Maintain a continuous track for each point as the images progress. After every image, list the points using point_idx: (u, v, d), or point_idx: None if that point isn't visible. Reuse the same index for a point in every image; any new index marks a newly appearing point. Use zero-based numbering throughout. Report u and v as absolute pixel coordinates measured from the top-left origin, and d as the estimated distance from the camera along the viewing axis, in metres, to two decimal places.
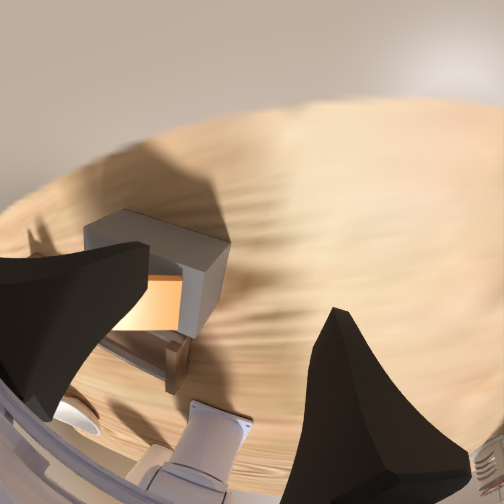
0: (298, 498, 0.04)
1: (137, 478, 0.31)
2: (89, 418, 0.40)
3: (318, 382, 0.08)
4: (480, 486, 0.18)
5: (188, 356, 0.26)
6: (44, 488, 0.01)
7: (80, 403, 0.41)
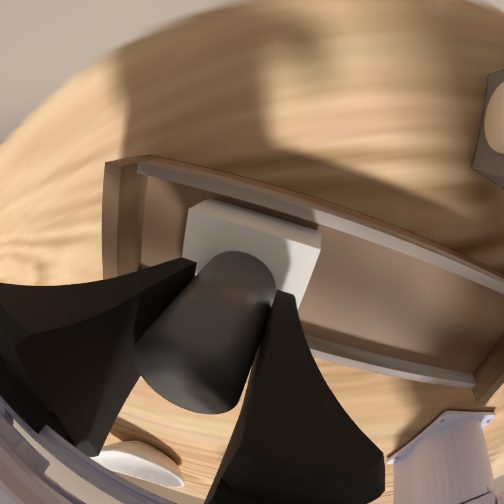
0: (216, 478, 0.05)
1: None
2: (174, 473, 0.25)
3: (255, 363, 0.08)
4: None
5: None
6: (44, 488, 0.01)
7: (154, 451, 0.27)
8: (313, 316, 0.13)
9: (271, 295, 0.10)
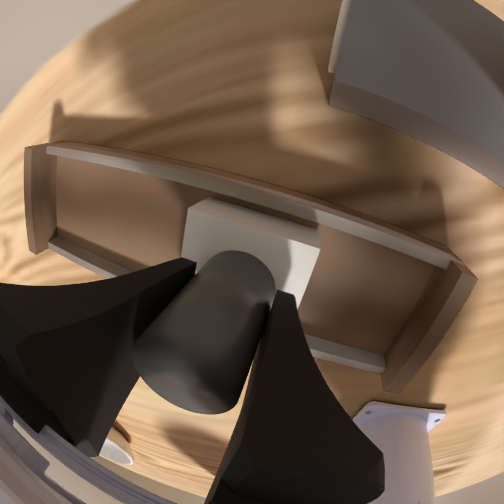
0: (216, 478, 0.05)
1: None
2: (120, 447, 0.26)
3: (255, 363, 0.08)
4: None
5: None
6: (44, 488, 0.01)
7: None
8: None
9: (271, 295, 0.10)
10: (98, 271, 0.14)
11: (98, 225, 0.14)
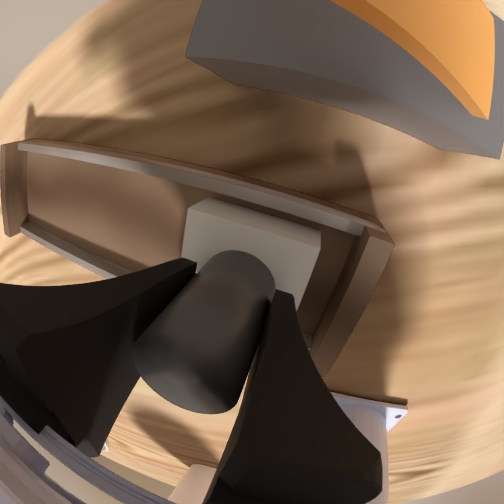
0: (214, 478, 0.05)
1: None
2: None
3: (254, 363, 0.08)
4: None
5: None
6: (44, 488, 0.01)
7: None
8: (109, 242, 0.15)
9: (271, 294, 0.10)
10: (55, 249, 0.15)
11: (57, 209, 0.15)
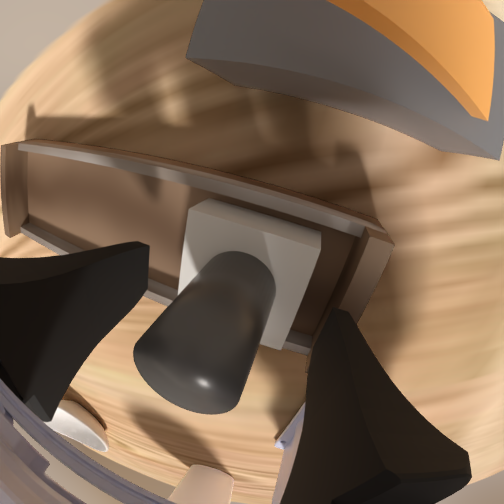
0: (298, 498, 0.04)
1: None
2: (94, 431, 0.27)
3: (319, 382, 0.08)
4: None
5: None
6: (44, 488, 0.01)
7: (81, 409, 0.29)
8: (109, 243, 0.15)
9: (271, 295, 0.10)
10: (56, 249, 0.15)
11: (57, 210, 0.15)
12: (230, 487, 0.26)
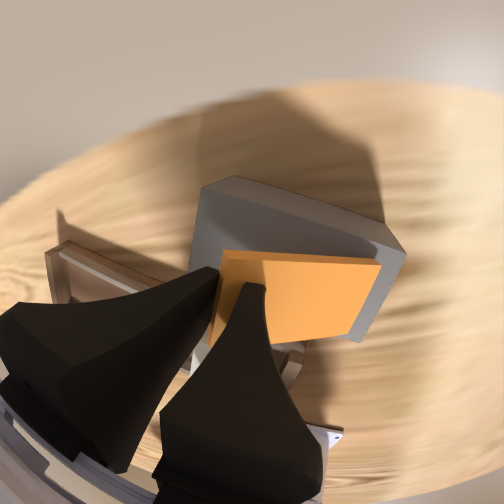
0: None
1: None
2: None
3: None
4: None
5: None
6: (44, 488, 0.01)
7: None
8: None
9: None
10: None
11: None
12: None
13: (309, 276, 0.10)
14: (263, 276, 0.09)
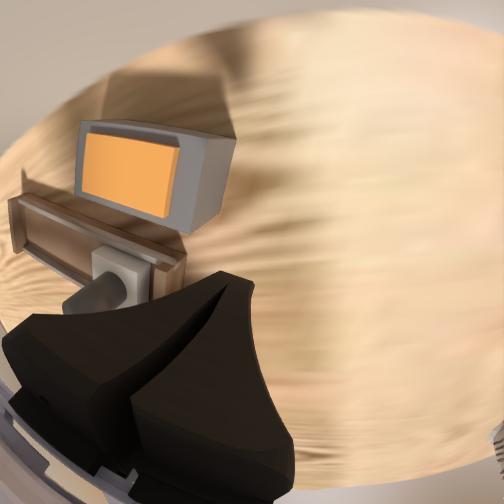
0: None
1: None
2: None
3: None
4: (502, 468, 0.16)
5: None
6: (44, 488, 0.01)
7: None
8: (70, 261, 0.25)
9: (119, 292, 0.20)
10: (43, 263, 0.25)
11: (43, 240, 0.25)
12: None
13: (119, 147, 0.14)
14: (99, 144, 0.14)
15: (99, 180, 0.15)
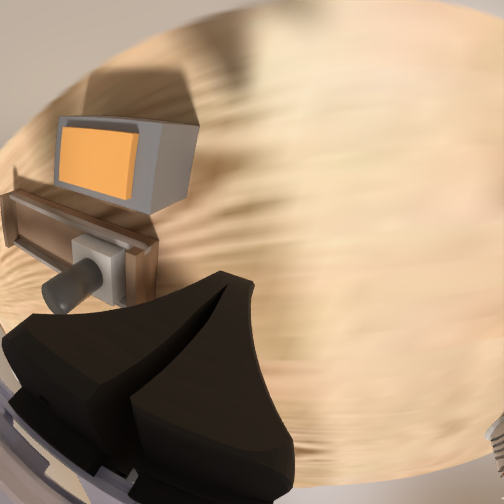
0: None
1: None
2: None
3: None
4: (500, 466, 0.15)
5: (155, 278, 0.24)
6: (44, 488, 0.01)
7: None
8: (56, 252, 0.25)
9: (95, 276, 0.20)
10: (32, 255, 0.25)
11: (32, 233, 0.25)
12: None
13: (89, 137, 0.14)
14: (72, 136, 0.14)
15: (73, 169, 0.15)
